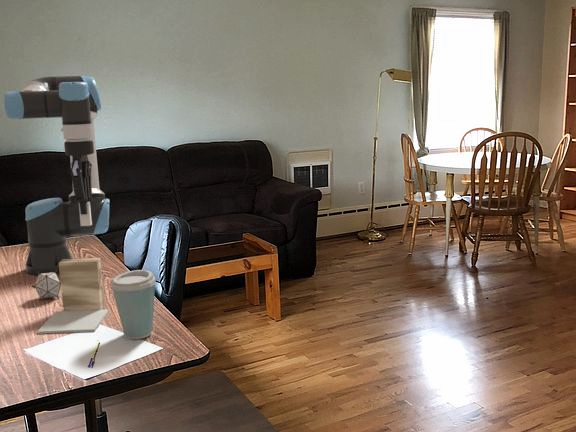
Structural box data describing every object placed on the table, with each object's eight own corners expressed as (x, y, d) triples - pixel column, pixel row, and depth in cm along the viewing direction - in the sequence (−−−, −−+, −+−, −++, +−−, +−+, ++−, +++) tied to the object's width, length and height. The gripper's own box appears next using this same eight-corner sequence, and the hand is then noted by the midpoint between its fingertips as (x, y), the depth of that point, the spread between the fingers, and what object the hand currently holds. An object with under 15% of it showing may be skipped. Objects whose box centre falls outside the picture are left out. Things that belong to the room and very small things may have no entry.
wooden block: (67, 308, 171) (62, 259, 168) (104, 307, 171) (100, 257, 168) (63, 313, 167) (58, 262, 164) (101, 311, 168) (96, 261, 165)
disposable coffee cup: (139, 346, 144) (134, 284, 141) (105, 338, 149) (99, 278, 146) (168, 330, 153) (164, 272, 150) (135, 323, 158) (131, 266, 155)
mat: (55, 313, 167) (55, 311, 167) (108, 311, 167) (108, 309, 167) (37, 333, 153) (37, 331, 153) (94, 331, 154) (94, 329, 154)
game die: (53, 312, 179) (50, 292, 172) (27, 301, 180) (22, 280, 173) (71, 289, 185) (68, 269, 178) (46, 278, 186) (42, 257, 179)
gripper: (71, 138, 175) (79, 221, 180) (56, 142, 162) (65, 230, 167) (98, 137, 175) (105, 220, 180) (85, 141, 162) (93, 229, 167)
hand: (86, 225), depth 173 cm, fingers closed
